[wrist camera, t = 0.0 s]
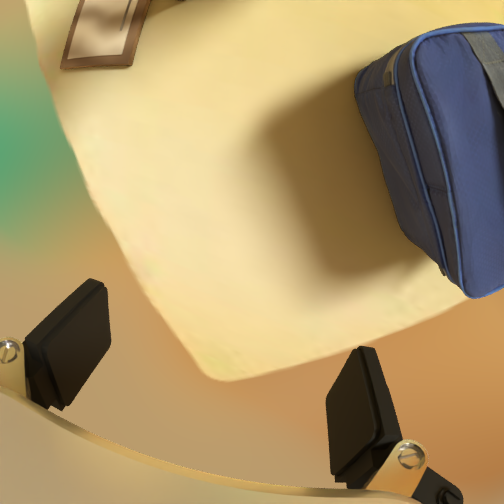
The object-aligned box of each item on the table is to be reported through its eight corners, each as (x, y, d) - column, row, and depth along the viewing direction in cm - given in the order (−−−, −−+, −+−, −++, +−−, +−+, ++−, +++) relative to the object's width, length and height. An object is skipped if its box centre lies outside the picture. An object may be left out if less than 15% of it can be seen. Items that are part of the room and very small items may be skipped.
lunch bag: (504, 223, 36) (583, 275, 17) (408, 272, 41) (468, 359, 22) (449, 40, 27) (535, 6, 8) (332, 73, 32) (377, 18, 13)
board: (90, -16, 27) (86, -19, 26) (161, -28, 27) (157, -32, 25) (64, 69, 34) (58, 68, 32) (132, 65, 33) (127, 63, 32)
